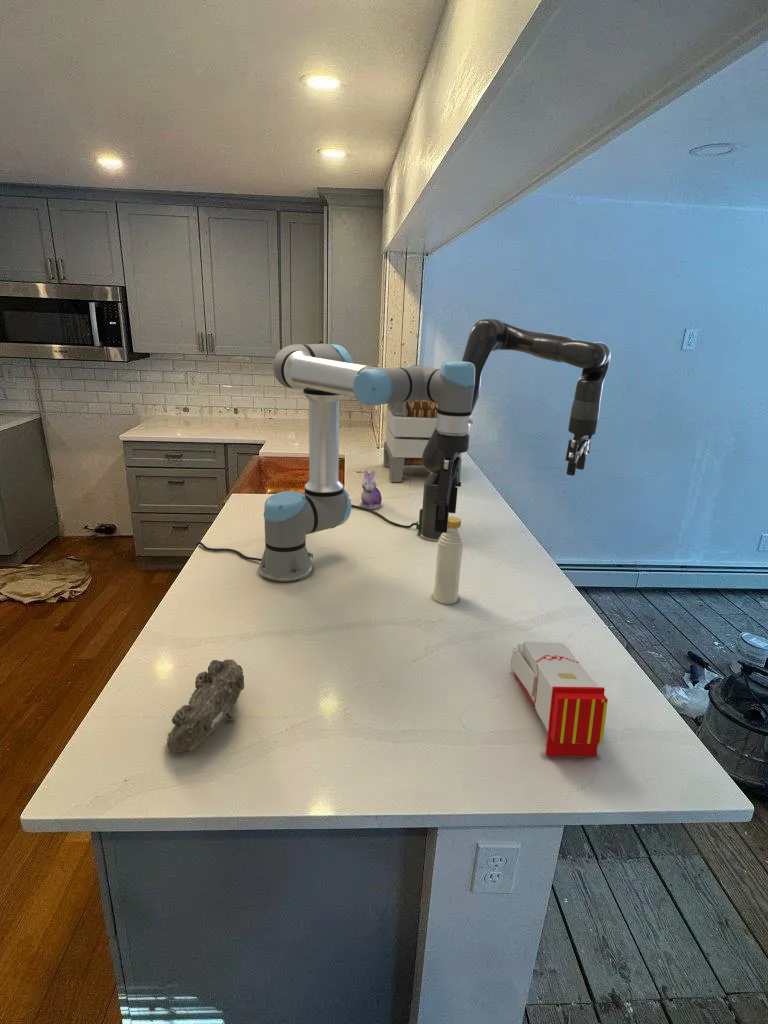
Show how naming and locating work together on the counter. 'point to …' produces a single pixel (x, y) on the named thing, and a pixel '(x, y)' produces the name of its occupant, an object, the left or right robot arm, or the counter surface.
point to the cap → (454, 522)
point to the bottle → (448, 566)
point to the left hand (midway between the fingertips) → (445, 521)
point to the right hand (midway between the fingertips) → (575, 472)
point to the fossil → (206, 705)
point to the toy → (562, 697)
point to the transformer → (408, 435)
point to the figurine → (370, 492)
